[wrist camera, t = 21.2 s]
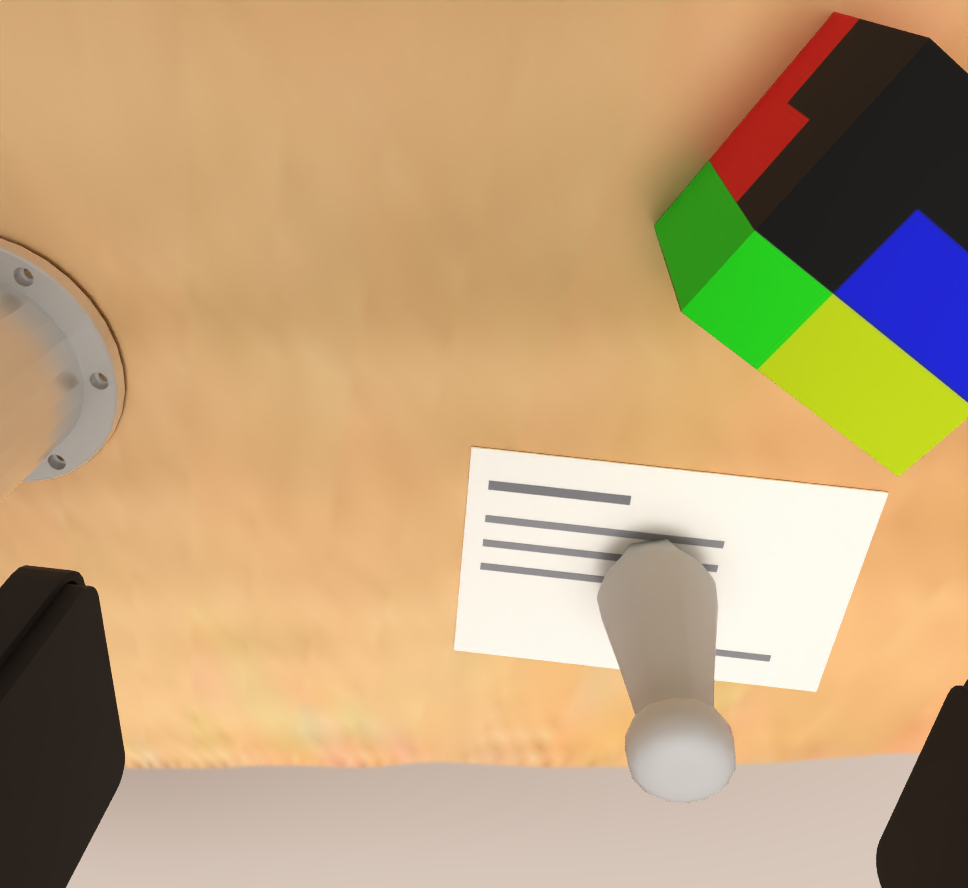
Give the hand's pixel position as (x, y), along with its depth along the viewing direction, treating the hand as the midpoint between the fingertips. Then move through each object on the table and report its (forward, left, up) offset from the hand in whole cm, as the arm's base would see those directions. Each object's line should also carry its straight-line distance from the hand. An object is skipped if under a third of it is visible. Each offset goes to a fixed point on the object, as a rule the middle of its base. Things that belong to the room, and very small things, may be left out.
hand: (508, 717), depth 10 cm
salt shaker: (+8, -20, -30) cm, 37 cm away
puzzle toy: (+12, -1, -31) cm, 33 cm away
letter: (+8, -20, -30) cm, 37 cm away
